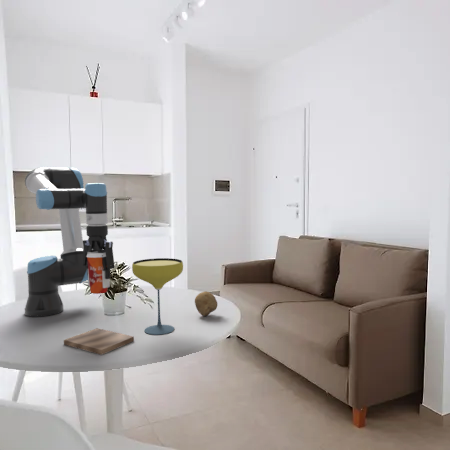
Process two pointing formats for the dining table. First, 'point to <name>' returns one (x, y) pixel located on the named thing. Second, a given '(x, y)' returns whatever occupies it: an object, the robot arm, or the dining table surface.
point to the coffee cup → (95, 272)
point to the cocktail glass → (158, 282)
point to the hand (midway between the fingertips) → (98, 286)
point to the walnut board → (99, 341)
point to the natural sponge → (205, 303)
